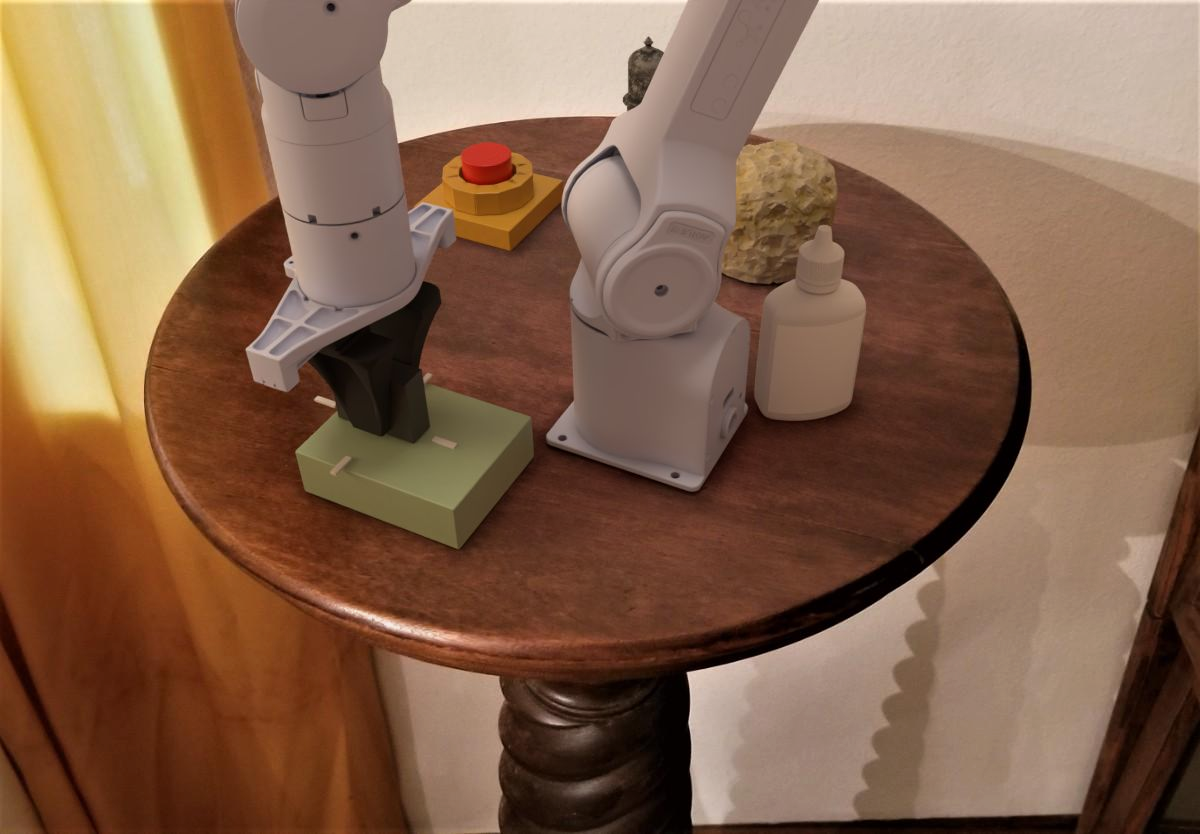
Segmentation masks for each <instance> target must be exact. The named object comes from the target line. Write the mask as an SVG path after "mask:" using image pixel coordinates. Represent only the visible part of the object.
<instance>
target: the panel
mask: <svg viewBox="0 0 1200 834" xmlns="http://www.w3.org/2000/svg"><path fill="white" fill-rule="evenodd" d="M433 377H434V374H432V373H430V372H427V373H426V374H425V375H423V381H424V388H425V395H426V401H427V408H428V415H429V422H430V427H429V428H428V429H427V431H426V432H425V433H424V434H423V435H422V436H421V437H420V438H419V439H418V440H417V441H416V442H415V443H414V444H413V443H410V442H407V441H404V440H402V439H399V438H396V437H393V436H390V435H387V434H385V435H384V436H382V437H380V436H377V435H374V434H371V433H368V432H365V431H363V430H360V429H357V428H354V427H353V426H352V424H351V422H350V421H347V420H344V419H342V418H339V417H338V413H337V411H335V412H334V413H333V414H332V415H331V416H330V417H329V418H328V419H327V420H326V421H325V422H324V423H323V424H321V426H320V427H318V429H317V430H316V431H314V433H313V434H311V435H310V436H309V437H308V439H306V440H305V441H304V442H303V443H302V444H301V445H300V446H299V447H298V448H297V449H296V450H295V456H296V460H297V465H298V469H299V473H300V476H301V481H302V485H303V488H304V491H305V492H306V493H309V494H311V495H315V496H317V497H320V498H321V499H325V500H328V501H330V502H333V503H335V504H338V505H340V506H343V507H346V508H348V509H351V510H353V511H357V512H359V513H362V514H364V515H367V516H370V517H372V518H375V519H378V520H380V521H383V522H385V523H388V524H390V525H393V526H396V527H398V528H401V529H404V530H406V531H409V532H411V533H414V534H417V535H419V536H422V537H425V538H427V539H429V540H432V541H435V542H438V543H441V544H443V545H446V546H448V547H451V548H453V549H456V550H461V548H462V547H463V546H464V544H465V543H466V542H467V540H468V539H469V538H470V537H471V536H472V534H473V533H474V532H475V531H476V529H477V528H479V526H480V525H481V524H482V523H483V521H484V519H486V517H487V516H488V515H489V513H490V512H491V511H492V510H493V508H494V507H495V506H496V504H498V502H499V501H500V500H501V499H502V497H503V496H504V495H505V493H506V492H507V491H508V490H509V488H510V487H511V486H512V485H513V483H514V482H515V481H516V479H518V477H519V476H520V475H521V473H522V472H523V471H524V470H525V469H526V467H528V465H529V463H531V462H532V459H534V458H535V450H534V438H533V437H534V436H533V424H532V423H533V421H532V417H531V415H530V416H529V415H526V414H523V413H520V412H517V411H514V410H511V409H508V408H505V407H502V406H499V405H496V404H493V403H490V402H487V401H483V400H481V399H477V398H474V397H471V396H468V395H465V394H462V393H459V392H456V391H453V390H449V389H448V388H443V387H440V386H437V385H434V384H431V383H428V382H429V381H431V379H432V378H433ZM313 401H314V402H315V403H318V404H322V405H324V406H327V407H329V408H333V409H336V403H335V400H331V399H329V398H326V397H323V396H321V395H317V396H316V397H315V398H314V399H313Z"/></svg>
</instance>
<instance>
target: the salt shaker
mask: <svg viewBox="0 0 1200 834" xmlns="http://www.w3.org/2000/svg"><path fill="white" fill-rule="evenodd" d="M643 44H644V46H643V47H640V48H638V49H636V50H634V51H632V53H631V54H630V55H629V57H628V61H627V92H626V93H625V94H624V95H623V96H622V103H623V105H624V106H626V112H627V111H629V110H631V109H633V108H635V107H637V106H638V105H640V104H641V102H642V100H643V98H644V96H645V93H646V91H647V89H648V87H649V85H650V82H651V80H652V78H653V76H654V74H655V71H656V69H657V67H658V65H659V63H660V60H661V58H662V56H663V54H664V52H665V51H663V50H661V49H659V48H657V47H654V46H653V44H654V41H653V40H652V37H650V36H647V37H646V38H645V40H643Z"/></svg>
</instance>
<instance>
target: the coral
mask: <svg viewBox="0 0 1200 834" xmlns="http://www.w3.org/2000/svg"><path fill="white" fill-rule="evenodd" d="M838 197H839V191H838V183H837V179H836V169H835V167H834V166H833V165H832V163H831V162H829V158H827V157H826V156H825V155H824V154H821V153H820V150H815V149H813V148H810V147H807V146H803V145H801V144H799V143H798V142H793V141H790V140H782V139H780V138H777V139H774V140H772V141H767V142H763V143H759V144H750V143H748V144H746V145H744V146H743V148H742V150H741V152H740V154H739V156H738V158H737V162H736V225H735V228H734V230H733V232H732V234H731V236H730V238H729V240H728V242H727V244H726V246H725V249H724V252H723V256H722V274H724V275H726V276H727V277H729V278H733V279H736V280H739V281H742V282H745V283H751V284H765V285H771V284H772V283H775V284H780V283H787V282H789V281H791V280H794V279H795V278H796V270H797V261H798V252H799V248H800V246H801V245H802V244H804V243H805V242H807V241H810V240H814V238H815V235H816V232H817V229H818V227H819V226H820V225H828V226H830V227H831V229H833V227H834V221H835V213H836V209H837V203H838Z"/></svg>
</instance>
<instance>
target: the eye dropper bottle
mask: <svg viewBox="0 0 1200 834" xmlns="http://www.w3.org/2000/svg"><path fill="white" fill-rule="evenodd" d="M832 229H833V228H832ZM832 229H831V227H830V226H828V225H820V226H819V227H818V229H817V232H816V235H815V238H814V240H810V241H807V242H805V243H804V244H802V245H801V246H800V248H799V252H798V261H797V270H796V278H795V279H794V280H791V281H787V282H784V283H783V284H781V285H780V286H777V287H776V288H774V289H773V290H771V291H770V292H769V293H768V294H767V295H766V296H765V298H764V299H763V304H762V310H761V317H760V318H761V319H760V328H759V335H758V336H759V337H758V348H757V356H756V357H757V358H756V367H755V378H754V388H753V389H754V390H753V397H754V400H755V403H756V405H757V408H758V409H759V411H760V413H761V414H762V415H763V416H764V417H765V418H768V419H770V420H776V421H785V422H786V421H787V422H802V421H803V422H804V421H813V420H819V419H823V418H826V417H829V416H833V415H835V414H837V413H840V412H842V411H844V410H846V409H847V408H848V407H849V406H850V405H851V403H852V400H853V394H854V391H855V390H854V388H855V382H856V377H857V371H858V365H859V359H860V353H861V346H862V341H863V334H864V330H865V322H866V315H867V301H866V299H865V297H864V295H863V293H862V291H861V290H860V289H859V287H858V286H857V285H856V284H854V283H853V282H851V281H849V280H846V279H843V278H842V276H843V269H844V261H845V255H846V254H845V250H844V248H843V247H842V246H841V245H840V244H839V243H837V242H834V241H833V231H832Z"/></svg>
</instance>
